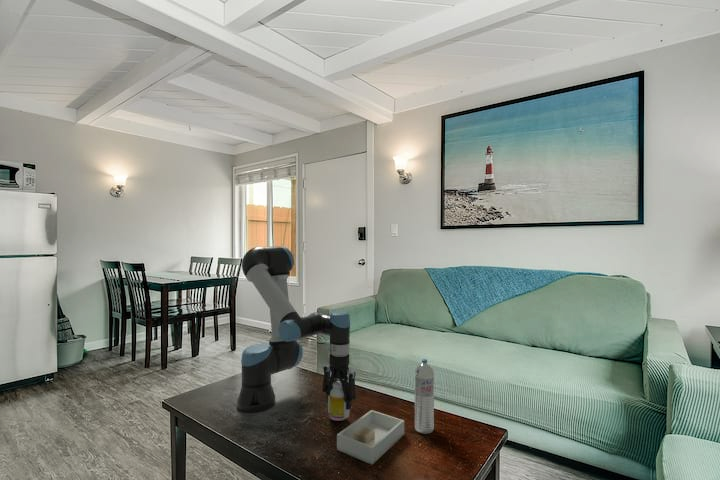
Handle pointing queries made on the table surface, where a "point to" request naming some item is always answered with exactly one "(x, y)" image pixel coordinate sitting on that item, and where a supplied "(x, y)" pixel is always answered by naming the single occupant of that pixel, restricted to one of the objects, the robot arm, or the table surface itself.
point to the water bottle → (424, 398)
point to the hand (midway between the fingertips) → (338, 414)
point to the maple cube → (365, 435)
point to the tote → (385, 436)
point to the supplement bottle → (337, 401)
